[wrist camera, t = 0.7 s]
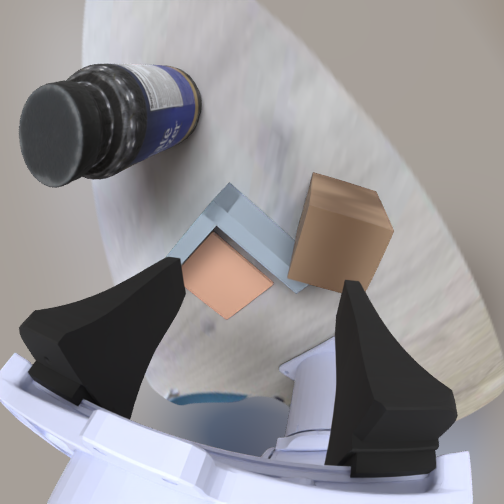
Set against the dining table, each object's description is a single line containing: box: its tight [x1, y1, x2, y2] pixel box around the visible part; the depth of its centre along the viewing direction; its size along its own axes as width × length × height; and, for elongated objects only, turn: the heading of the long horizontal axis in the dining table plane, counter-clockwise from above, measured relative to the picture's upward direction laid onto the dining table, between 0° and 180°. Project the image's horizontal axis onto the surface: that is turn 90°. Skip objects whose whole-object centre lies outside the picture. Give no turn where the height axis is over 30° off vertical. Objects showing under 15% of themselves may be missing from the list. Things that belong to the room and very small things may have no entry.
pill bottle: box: [19, 64, 201, 187], centre depth 14 cm, size 6×6×11 cm
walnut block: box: [287, 172, 394, 293], centre depth 18 cm, size 4×4×6 cm
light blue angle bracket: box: [166, 182, 309, 320], centre depth 23 cm, size 8×12×4 cm
